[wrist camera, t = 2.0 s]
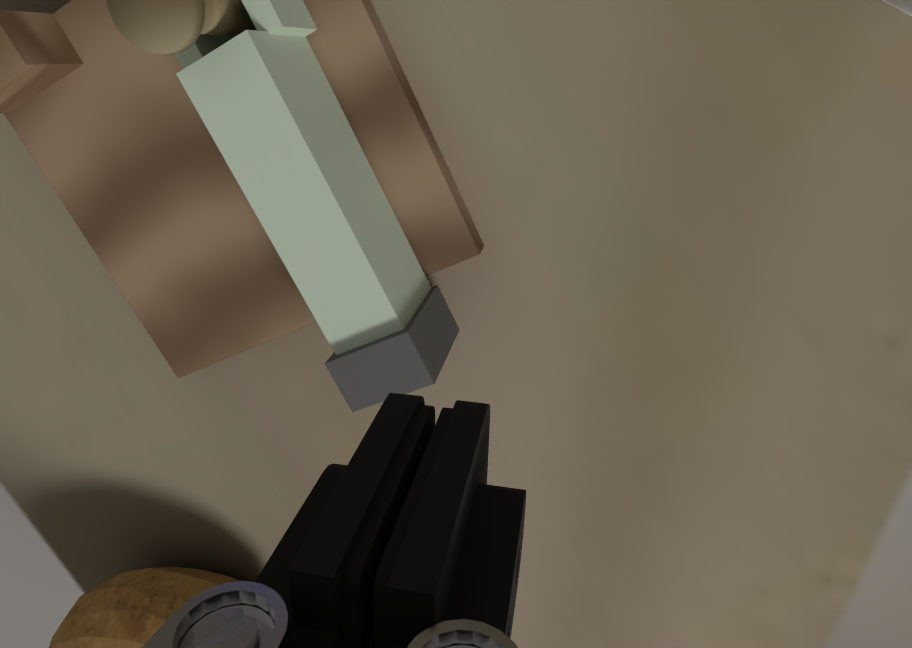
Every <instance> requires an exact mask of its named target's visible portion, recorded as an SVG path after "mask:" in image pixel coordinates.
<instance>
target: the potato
mask: <svg viewBox="0 0 912 648" xmlns="http://www.w3.org/2000/svg"><path fill="white" fill-rule="evenodd" d="M237 581H240V580H237V579H234V578H232V577H229V576H226V575H223V574H218V573H214V572H210V571H205V570H201V569H192V568H183V567H158V568H145V569H138V570H132V571H125V572H122V573H120V574H117V575H115V576H113V577H111V578H109V579H106V580H105V581H103V582H102V583H100V584H99V585H97V586H96V587H94V588H93V589H91V590H90V591H88V592H87V593H85V594H84V595H82V596H81V597H79V599H78V600H77V602H76V603H75V605H74V606H73V607H72V609H71V610H70V612H69V613H68V615H67V616H66V617H65V619H64V620H63V622H62V623H61V625H60V626H59V628H58V629H57V631H56V633H55V634H54V636H53V637H52V640H51V643H50V646H49V648H141V647H142V646H143V645H144V644H145V643H146V642H147V641H148V640H149V639H150V638H151V637H152V636H153V635H154V633H155V632H156V631H157V630H158V629H159V628H160V627H161V626H162V625H163V624H164V623H165V622H166V621H167V619H168V618H169V617H170V616H171V615H172V614H173V613H174V612H175V611H176V610H177V609H178V608H179V607H181V606H182V605H183V604H184V603H185V602H186V601H188V600H189V599H190V598H191V597H193V596H195V595H197V594H199V593H200V592H202V591H204V590H206V589H208V588H211V587H214V586H217V585H220V584H223V583H227V582H237Z"/></svg>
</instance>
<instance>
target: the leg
mask: <svg viewBox="0 0 912 648" xmlns="http://www.w3.org/2000/svg"><path fill="white" fill-rule="evenodd" d="M241 1H242V3H243V5H244V6H245V8H246V10H247V12H248V14H249V16H250V18H251V20H252V22H253V24H254V26H255V28H256V29H257V30H245V31H244V32H242V33H240V34H239V35H237V36H236V37H234V36H224V35H205V34H200V36H199V37H198V39H197V40H196V42H195V43H194V44H193V45H192V46H191V47H189V48H188V49H186V50H185V51H183V52H180V53H175V55H176V57H177V59H178V60H179V62H180V64H181V66H182V68H183V70H181V71H180V72H178V73H177V74H176V75H177V76H178V78H179V80H180V82H181V84H182V85H183V87H184V89H185V91H186V92H187V94H188V96H189V98H190V99H191V101H192V103H193V105H194V106H195V108H196V110H197V112H198V113H199V115H200V117H201V119H202V120H203V122H204V124H205V126H206V127H207V129H208V131H209V133H210V135H211V136H212V138H213V140H214V142H215V143H216V145H217V147H218V149H219V150H220V152H221V154H222V156H223V157H224V159H225V161H226V163H227V164H228V166H229V168H230V170H231V171H232V173H233V175H234V177H235V179H236V180H237V182H238V184H239V186H240V187H241V189H242V191H243V193H244V194H245V196H246V198H247V200H248V201H249V203H250V205H251V207H252V208H253V210H254V212H255V214H256V215H257V217H258V219H259V221H260V223H261V224H262V226H263V228H264V230H265V231H266V233H267V235H268V237H269V238H270V240H271V242H272V244H273V245H274V247H275V249H276V251H277V252H278V254H279V256H280V258H281V259H282V261H283V263H284V265H285V266H286V268H287V270H288V272H289V274H290V275H291V277H292V279H293V281H294V282H295V284H296V286H297V288H298V289H299V291H300V293H301V295H302V296H303V298H304V300H305V302H306V303H307V305H308V307H309V309H310V310H311V312H312V314H313V316H314V318H315V319H316V321H317V323H318V325H319V326H320V328H321V330H322V332H323V333H324V335H325V337H326V339H327V340H328V342H329V344H330V346H331V347H332V349H333V351H334V353H333V354H332V356H331V357H330V358H329V359H328V360H327V362H326V363H325V365H326V367H327V369H328V370H329V372H330V374H331V376H332V377H333V379H334V381H335V383H336V384H337V386H338V388H339V390H340V391H341V393H342V395H343V396H344V398H345V400H346V402H347V403H348V405H349V407H350V409H351V410H352V412H354V411H357V410H360V409H363V408H366V407H368V406H371V405H374V404H377V403H380V402H383V401H385V399H386V397H387V396H388V395H389V393H398V394H406V393H409V392H412V391H415V390H417V389H420V388H423V387H426V386H429V385H432V384H435V381H436V379H437V377H438V375H439V373H440V371H441V368H442V366H443V364H444V362H445V360H446V358H447V355H448V353H449V351H450V349H451V347H452V345H453V342H454V340H455V338H456V336H457V334H458V332H459V328H458V326H457V324H456V322H455V320H454V318H453V316H452V314H451V312H450V310H449V308H448V306H447V304H446V301H445V299H444V297H443V295H442V293H441V291H440V289H439V287H438V285H437V286H435V287H432V288H431V286H430V284H429V282H428V280H427V278H426V276H425V274H424V272H423V270H422V268H421V266H420V264H419V262H418V260H417V258H416V256H415V254H414V252H413V250H412V248H411V246H410V244H409V242H408V240H407V238H406V236H405V234H404V232H403V230H402V228H401V226H400V224H399V222H398V220H397V218H396V216H395V214H394V212H393V210H392V208H391V206H390V204H389V202H388V200H387V198H386V196H385V194H384V192H383V190H382V188H381V186H380V184H379V182H378V180H377V178H376V176H375V174H374V172H373V170H372V168H371V166H370V164H369V162H368V160H367V158H366V156H365V154H364V152H363V150H362V148H361V146H360V144H359V142H358V140H357V138H356V136H355V134H354V132H353V130H352V128H351V126H350V124H349V122H348V120H347V118H346V116H345V114H344V112H343V110H342V108H341V106H340V104H339V102H338V100H337V98H336V96H335V94H334V92H333V90H332V88H331V86H330V84H329V82H328V80H327V78H326V76H325V74H324V72H323V70H322V68H321V66H320V64H319V62H318V60H317V58H316V56H315V54H314V52H313V50H312V48H311V46H310V44H309V42H308V40H307V38H306V36H307V35H309V34H311V33H312V32H314V31H316V30H317V28H316V26H315V24H314V22H313V20H312V18H311V16H310V14H309V12H308V10H307V8H306V5H305V3H304V1H303V0H241Z"/></svg>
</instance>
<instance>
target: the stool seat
mask: <svg viewBox="0 0 912 648" xmlns="http://www.w3.org/2000/svg"><path fill="white" fill-rule="evenodd" d="M303 1H304V3H305V5H306V8H307V10H308V12H309V14H310V16H311V18H312V20H313V22H314V24H315V26H316V28H317V30H316V31H314V32H312V33H311V34H309V35H307V36H306V38H307V40H308V42H309V44H310V46H311V48H312V50H313V52H314V54H315V56H316V58H317V60H318V62H319V64H320V66H321V68H322V70H323V72H324V74H325V76H326V78H327V80H328V82H329V84H330V86H331V88H332V90H333V92H334V94H335V96H336V98H337V100H338V102H339V104H340V106H341V108H342V110H343V112H344V114H345V116H346V118H347V120H348V122H349V124H350V126H351V128H352V130H353V132H354V134H355V136H356V138H357V140H358V142H359V144H360V146H361V148H362V150H363V152H364V154H365V156H366V158H367V160H368V162H369V164H370V166H371V168H372V170H373V172H374V174H375V176H376V178H377V180H378V182H379V184H380V186H381V188H382V190H383V192H384V194H385V196H386V198H387V200H388V202H389V204H390V206H391V208H392V210H393V212H394V214H395V216H396V218H397V220H398V222H399V224H400V226H401V228H402V230H403V232H404V234H405V236H406V238H407V240H408V242H409V244H410V246H411V248H412V250H413V252H414V254H415V256H416V258H417V260H418V262H419V264H420V266H421V268H422V270H423V272H424V274H425V276H427V275H430V274H432V273H435V272H437V271H439V270H442V269H444V268H447V267H449V266H452V265H454V264H456V263H459V262H461V261H464V260H466V259H469V258H471V257H473V256H476V255H478V254H480V253H481V251H482V249H483V247H484V245H483V242H482V240H481V238H480V236H479V234H478V232H477V230H476V227H475V225H474V223H473V221H472V219H471V217H470V214H469V212H468V210H467V208H466V206H465V204H464V201H463V199H462V197H461V195H460V193H459V191H458V189H457V186H456V184H455V182H454V180H453V178H452V176H451V173H450V171H449V169H448V167H447V165H446V163H445V161H444V158H443V156H442V154H441V152H440V150H439V148H438V145H437V143H436V141H435V139H434V137H433V135H432V132H431V130H430V128H429V126H428V124H427V122H426V120H425V117H424V115H423V113H422V111H421V109H420V107H419V104H418V102H417V100H416V98H415V96H414V94H413V92H412V89H411V87H410V85H409V83H408V81H407V79H406V76H405V74H404V72H403V70H402V68H401V66H400V64H399V61H398V59H397V57H396V55H395V53H394V51H393V48H392V46H391V44H390V42H389V40H388V38H387V35H386V33H385V31H384V29H383V27H382V25H381V23H380V20H379V18H378V16H377V14H376V12H375V10H374V7H373V5H372V3H371V1H370V0H303ZM245 30H257V29H256V28H255V26H254V24H253V22H252V20H251V18H250V16H249V14H248V12H247V10H246V8H245V6H244V5H243V3H242V1H241V0H71V1H70V2H68V3H67V4H66V5H64V6H63V7H61V8H60V9H59V10H57V11H56V12H55V13H40V12H26V11H13V10H0V113H4V115H5V116H6V118H7V119H8V121H9V122H10V124H11V125H12V127H13V128H14V130H15V131H16V133H17V134H18V136H19V137H20V139H21V140H22V142H23V143H24V145H25V146H26V148H27V150H28V151H29V153H30V154H31V156H32V157H33V159H34V160H35V162H36V163H37V165H38V166H39V168H40V169H41V171H42V172H43V174H44V175H45V177H46V178H47V180H48V181H49V183H50V184H51V186H52V187H53V189H54V190H55V192H56V194H57V195H58V197H59V198H60V200H61V201H62V203H63V204H64V206H65V207H66V209H67V210H68V212H69V213H70V215H71V216H72V218H73V219H74V221H75V222H76V224H77V225H78V227H79V228H80V230H81V231H82V233H83V234H84V236H85V238H86V239H87V241H88V242H89V244H90V245H91V247H92V248H93V250H94V251H95V253H96V254H97V256H98V257H99V259H100V260H101V262H102V263H103V265H104V266H105V268H106V269H107V271H108V272H109V274H110V275H111V277H112V278H113V280H114V281H115V283H116V285H117V286H118V288H119V289H120V291H121V292H122V294H123V295H124V297H125V298H126V300H127V301H128V303H129V304H130V306H131V307H132V309H133V310H134V312H135V313H136V315H137V316H138V318H139V319H140V321H141V322H142V324H143V325H144V327H145V329H146V330H147V332H148V333H149V335H150V336H151V338H152V339H153V341H154V342H155V344H156V345H157V347H158V348H159V350H160V351H161V353H162V354H163V356H164V357H165V359H166V360H167V362H168V363H169V365H170V366H171V368H172V369H173V371H174V373H175V374H176V376H177V377H178V378H180V377H182V376H185V375H187V374H190V373H192V372H195V371H197V370H199V369H202V368H204V367H207V366H209V365H212V364H214V363H216V362H219V361H221V360H224V359H226V358H229V357H231V356H233V355H236V354H238V353H241V352H243V351H245V350H248V349H250V348H253V347H255V346H258V345H260V344H262V343H265V342H267V341H270V340H272V339H275V338H277V337H279V336H282V335H284V334H287V333H289V332H292V331H294V330H296V329H299V328H301V327H304V326H306V325H309V324H311V323H313V322H316V319H315V318H314V316H313V314H312V312H311V310H310V309H309V307H308V305H307V303H306V302H305V300H304V298H303V296H302V295H301V293H300V291H299V289H298V288H297V286H296V284H295V282H294V281H293V279H292V277H291V275H290V274H289V272H288V270H287V268H286V266H285V265H284V263H283V261H282V259H281V258H280V256H279V254H278V252H277V251H276V249H275V247H274V245H273V244H272V242H271V240H270V238H269V237H268V235H267V233H266V231H265V230H264V228H263V226H262V224H261V223H260V221H259V219H258V217H257V215H256V214H255V212H254V210H253V208H252V207H251V205H250V203H249V201H248V200H247V198H246V196H245V194H244V193H243V191H242V189H241V187H240V186H239V184H238V182H237V180H236V179H235V177H234V175H233V173H232V171H231V170H230V168H229V166H228V164H227V163H226V161H225V159H224V157H223V156H222V154H221V152H220V150H219V149H218V147H217V145H216V143H215V142H214V140H213V138H212V136H211V135H210V133H209V131H208V129H207V127H206V126H205V124H204V122H203V120H202V119H201V117H200V115H199V113H198V112H197V110H196V108H195V106H194V105H193V103H192V101H191V99H190V98H189V96H188V94H187V92H186V91H185V89H184V87H183V85H182V84H181V82H180V80H179V78H178V76H177V75H176V74H177V73H178V72H180V71H181V70H183V68H182V66H181V64H180V62H179V60H178V59H177V57H176V55H175V53H180V52H183V51H185V50H186V49H188V48H189V47H191V46H192V45H193V44H194V43H195V42H196V40H197V39H198V37H199V36H200V34H205V35H224V36H234V37H236V36H237V35H239V34H240V33H242V32H244V31H245Z"/></svg>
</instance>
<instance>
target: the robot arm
mask: <svg viewBox="0 0 912 648" xmlns="http://www.w3.org/2000/svg"><path fill="white" fill-rule="evenodd" d="M489 426H490V405H489V404H485V403H476V402H467V401H459V400H457V401H456V402H455V405H454V407H453V409H452V408H442V410H441V413H440V415H439V418H438V420H437V423H436V425H435V408H434V406H427V405H425V402H424V398H423V396H416V395H407V394H398V393H389V395H388V396H387V397H386V399H385V401H384V403H383V404H382V406H381V408H380V410H379V411H378V413H377V415H376V417H375V418H374V420H373V422H372V424H371V425H370V427H369V429H368V431H367V432H366V434H365V436H364V438H363V439H362V441H361V443H360V444H359V446H358V448H357V450H356V451H355V453H354V455H353V457H352V458H351V460H350V462H349V464H348V465H340V464H331V465H328V467H327V468H326V469H325V470H324V472H323V473H322V475H321V476H320V478H319V480H318V481H317V483H316V484H315V486H314V488H313V489H312V491H311V493H310V494H309V496H308V497H307V499H306V501H305V502H304V504H303V505H302V507H301V509H300V510H299V512H298V513H297V515H296V517H295V518H294V520H293V522H292V523H291V525H290V526H289V528H288V530H287V531H286V533H285V534H284V536H283V538H282V539H281V541H280V542H279V544H278V546H277V547H276V549H275V550H274V552H273V554H272V555H271V557H270V559H269V560H268V562H267V563H266V565H265V567H264V568H263V570H262V571H261V573H260V575H259V576H258V578H257V579H256V581H255V582H250V581H237V582H227V583H223V584H220V585H217V586H214V587H211V588H208V589H206V590H204V591H202V592H200V593H199V594H197V595H195V596H193V597H191V598H190V599H189V600H188V601H186V602H185V603H184V604H183V605H182V606H181V607H179V608H178V609H177V610H176V611H175V612H174V613H173V614H172V615H171V616H170V617H169V618H168V619H167V621H166V622H165V623H164V624H163V625H162V626H161V627H160V628H159V629H158V630H157V631H156V632H155V633H154V635H153V636H152V637H151V638H150V639H149V640H148V641H147V642H146V643H145V644H144V645H143V646H142V647H141V648H518V647H517V646H516V644H515V643H514V642H513V641H512V640H511V639H510V638H511V631H512V623H513V616H514V608H515V600H516V593H517V585H518V577H519V569H520V560H521V550H522V540H523V529H524V517H525V504H526V490H522V489H514V488H507V487H500V486H493V485H487V468H488V447H489Z"/></svg>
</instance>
